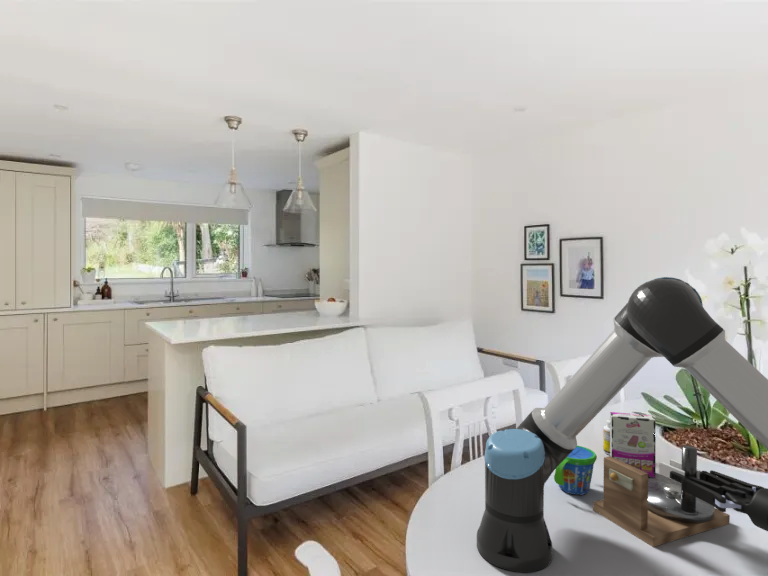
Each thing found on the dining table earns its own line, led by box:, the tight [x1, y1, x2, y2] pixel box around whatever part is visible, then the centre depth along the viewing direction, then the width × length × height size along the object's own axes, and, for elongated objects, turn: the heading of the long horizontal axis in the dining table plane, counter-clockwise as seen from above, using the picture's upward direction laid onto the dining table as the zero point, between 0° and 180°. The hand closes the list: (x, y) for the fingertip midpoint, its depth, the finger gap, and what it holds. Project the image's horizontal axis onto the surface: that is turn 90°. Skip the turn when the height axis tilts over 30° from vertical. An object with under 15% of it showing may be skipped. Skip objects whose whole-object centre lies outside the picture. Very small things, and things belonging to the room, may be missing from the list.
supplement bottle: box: [603, 419, 610, 456], centre depth 145 cm, size 6×6×10 cm
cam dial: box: [648, 445, 715, 523], centre depth 108 cm, size 15×15×16 cm
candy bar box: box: [609, 411, 657, 478], centre depth 131 cm, size 11×5×16 cm, turn 70°
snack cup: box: [553, 445, 598, 496], centre depth 121 cm, size 16×10×10 cm
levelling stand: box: [592, 455, 731, 548], centre depth 107 cm, size 26×16×14 cm, turn 111°
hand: (665, 466), depth 107 cm, fingers open, 3 cm apart
